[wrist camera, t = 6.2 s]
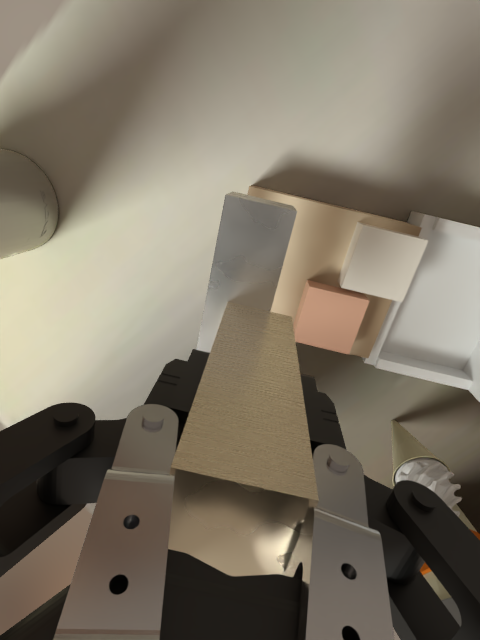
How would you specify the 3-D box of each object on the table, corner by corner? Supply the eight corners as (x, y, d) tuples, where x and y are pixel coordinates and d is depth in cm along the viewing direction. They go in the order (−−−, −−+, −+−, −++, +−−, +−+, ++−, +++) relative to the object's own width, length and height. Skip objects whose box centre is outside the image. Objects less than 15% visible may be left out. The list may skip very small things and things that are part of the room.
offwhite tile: (337, 280, 30) (341, 287, 28) (357, 221, 28) (363, 225, 27) (394, 294, 30) (402, 302, 29) (418, 236, 28) (428, 240, 27)
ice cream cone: (426, 424, 39) (510, 558, 26) (387, 447, 41) (446, 585, 27) (400, 394, 38) (472, 517, 25) (360, 419, 40) (407, 548, 26)
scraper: (193, 394, 22) (98, 660, 10) (232, 191, 17) (146, 227, 5) (256, 409, 22) (239, 692, 10) (313, 210, 17) (407, 287, 5)
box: (357, 348, 37) (372, 379, 31) (411, 210, 32) (440, 218, 26) (460, 373, 37) (494, 408, 31) (532, 239, 32) (587, 253, 26)
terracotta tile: (291, 331, 32) (292, 341, 31) (307, 279, 31) (309, 286, 29) (344, 344, 32) (349, 354, 31) (363, 293, 31) (369, 300, 29)
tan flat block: (225, 308, 36) (219, 322, 33) (252, 185, 32) (249, 186, 28) (358, 339, 36) (368, 358, 33) (404, 221, 32) (422, 227, 28)
